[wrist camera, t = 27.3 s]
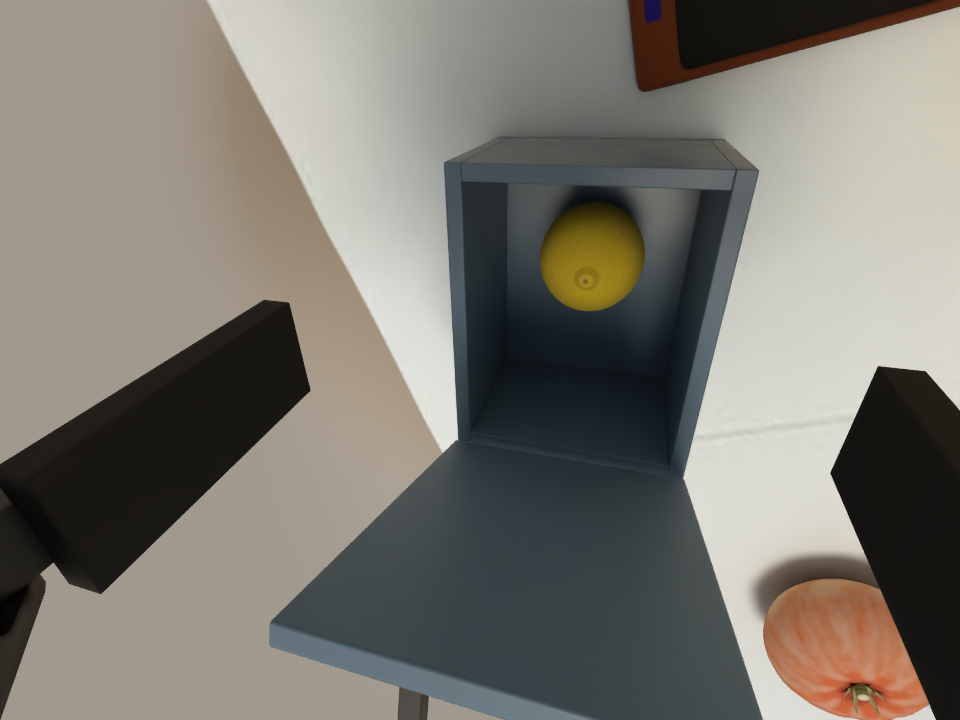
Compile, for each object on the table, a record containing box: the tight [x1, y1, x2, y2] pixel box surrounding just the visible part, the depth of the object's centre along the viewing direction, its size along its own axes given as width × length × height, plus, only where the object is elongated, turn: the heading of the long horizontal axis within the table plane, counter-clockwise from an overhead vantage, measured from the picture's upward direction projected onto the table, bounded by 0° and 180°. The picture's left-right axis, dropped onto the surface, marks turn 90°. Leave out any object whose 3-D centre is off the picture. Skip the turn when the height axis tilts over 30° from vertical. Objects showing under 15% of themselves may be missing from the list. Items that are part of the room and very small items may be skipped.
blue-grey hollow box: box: [444, 137, 759, 479], centre depth 28 cm, size 16×13×10 cm
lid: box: [269, 440, 763, 720], centre depth 20 cm, size 16×13×7 cm
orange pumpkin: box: [763, 579, 929, 720], centre depth 37 cm, size 11×11×8 cm
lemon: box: [540, 202, 645, 311], centre depth 27 cm, size 6×6×8 cm
